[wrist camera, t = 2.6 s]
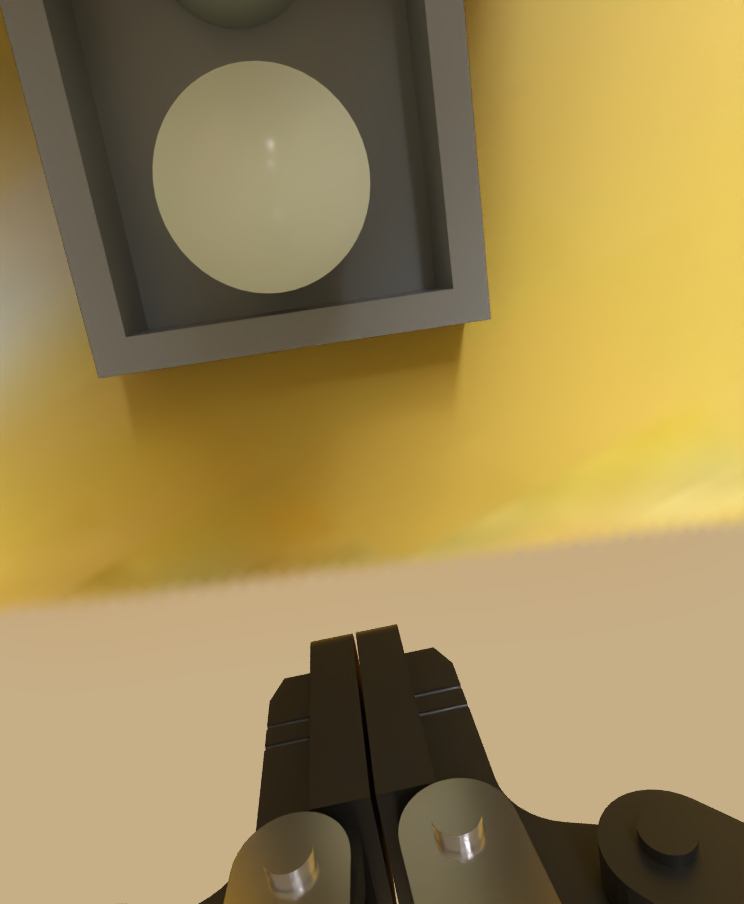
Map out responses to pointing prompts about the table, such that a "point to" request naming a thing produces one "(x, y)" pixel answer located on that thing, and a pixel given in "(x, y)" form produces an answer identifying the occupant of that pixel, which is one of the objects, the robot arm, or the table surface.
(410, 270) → the tray
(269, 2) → the cream cylinder
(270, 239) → the cream piece
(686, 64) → the table surface
